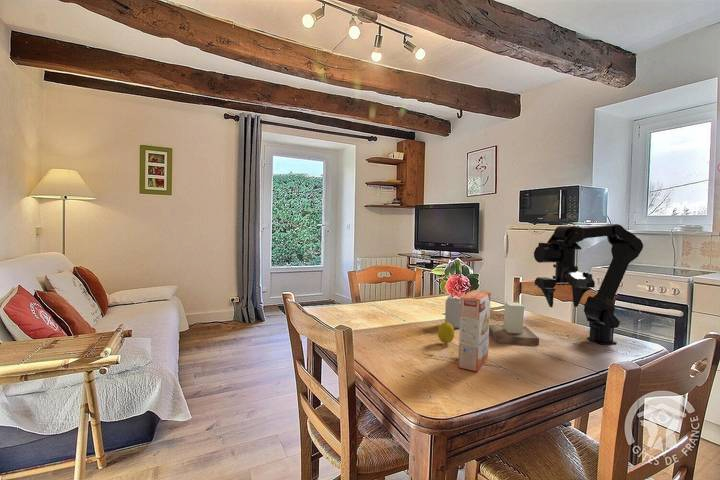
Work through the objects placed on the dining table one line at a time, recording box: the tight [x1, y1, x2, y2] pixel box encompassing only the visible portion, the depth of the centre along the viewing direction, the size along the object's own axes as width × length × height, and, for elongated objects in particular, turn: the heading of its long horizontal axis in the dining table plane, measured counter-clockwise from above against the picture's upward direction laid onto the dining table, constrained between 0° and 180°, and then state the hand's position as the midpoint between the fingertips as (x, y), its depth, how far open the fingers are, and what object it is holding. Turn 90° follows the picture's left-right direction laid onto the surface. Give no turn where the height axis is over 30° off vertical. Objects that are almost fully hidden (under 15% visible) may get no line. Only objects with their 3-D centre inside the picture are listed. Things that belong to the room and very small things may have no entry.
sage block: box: [503, 301, 525, 333], centre depth 129 cm, size 5×5×10 cm
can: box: [444, 295, 461, 329], centre depth 142 cm, size 8×8×12 cm
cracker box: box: [457, 289, 492, 373], centre depth 105 cm, size 14×6×21 cm, turn 148°
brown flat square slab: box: [489, 324, 540, 346], centre depth 129 cm, size 14×14×3 cm
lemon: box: [437, 321, 455, 345], centre depth 121 cm, size 6×6×8 cm
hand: (563, 306), depth 122 cm, fingers open, 9 cm apart
